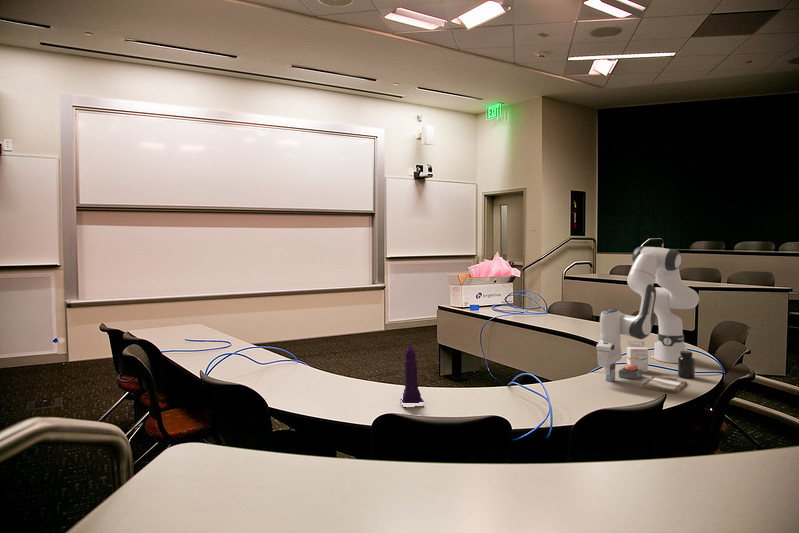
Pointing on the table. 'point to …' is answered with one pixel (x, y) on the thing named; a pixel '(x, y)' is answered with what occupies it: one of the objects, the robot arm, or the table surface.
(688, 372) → the supplement bottle
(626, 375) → the button housing
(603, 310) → the robot arm
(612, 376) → the grey lidded jar
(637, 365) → the ink cartridge box
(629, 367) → the button
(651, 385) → the picture frame
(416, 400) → the building model
